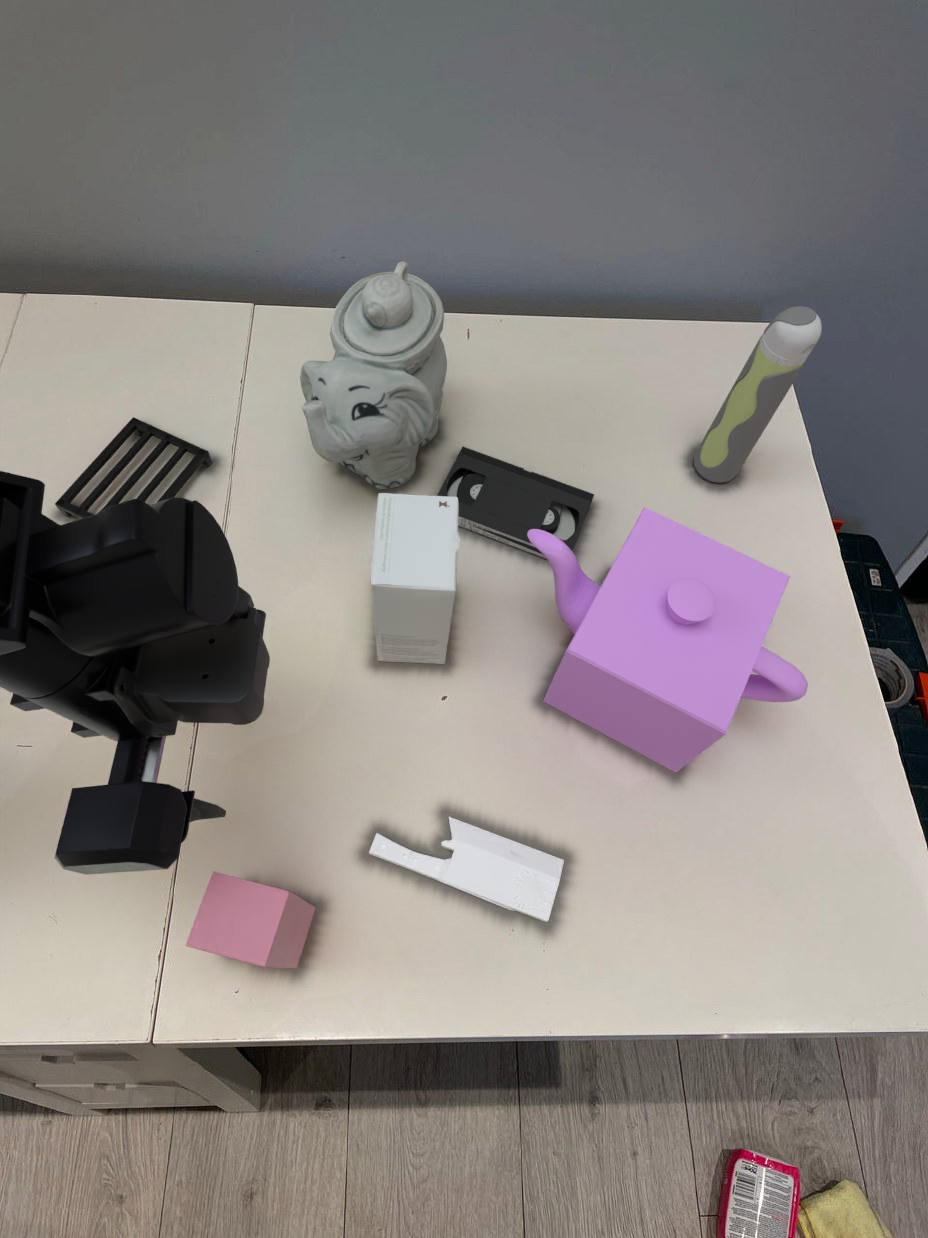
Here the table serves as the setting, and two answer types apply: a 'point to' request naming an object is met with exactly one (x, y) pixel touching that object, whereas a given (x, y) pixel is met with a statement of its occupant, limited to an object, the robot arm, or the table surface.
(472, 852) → the butcher knife
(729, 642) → the teapot
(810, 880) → the table surface
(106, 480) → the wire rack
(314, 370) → the elephant cookie jar
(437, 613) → the cosmetic box
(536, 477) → the vhs tape
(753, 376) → the spray bottle
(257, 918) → the pink box
